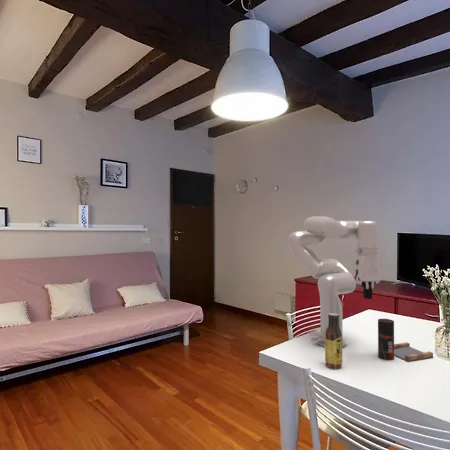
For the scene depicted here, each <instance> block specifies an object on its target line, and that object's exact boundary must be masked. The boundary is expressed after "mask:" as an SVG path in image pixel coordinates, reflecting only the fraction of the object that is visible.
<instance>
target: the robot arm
mask: <svg viewBox="0 0 450 450" xmlns="http://www.w3.org/2000/svg"><path fill="white" fill-rule="evenodd" d="M303 228H304V230H298V231H297V230H296V231H294V232H291V233H290V234H289V235H288V238H287V245H288V249H289V251H290V253H291V254H292V256H293V257H294V258H295V259H296V260H298V261H299V263H301V265H302V266H303V267H304V268H305V269H306V271H307V272H308V273H309V275H310V276H311V277H312V278H314V279H315V280H317V289H318V292H319V294H318V295H319V303H320V305H319V306H320V312H319V313H320V314H319V315H320V317H319V319H320V332H318V334H317V335H314V336H311V337H310V339H311V341H312V342H315V341H316V343H317V344H318V345H319V346H321V347H323V348H325V337H326V336H325V335H326V334H325V332H326V329H327V328H328V326H329V325H328V323H329V318H328V314H329V313H337V314H339V328H340V331H341V333H342V348H345V347H346V346H347V341H346V340H345V339H343V303H342V301H341V299H340V297H339V295H347V294H350V293H353V292H355V290H356V287H357V285H360V287H361V288H362V289H363V290H362V293H363V295H362V296H363V299H367V300H373V289H374V288H375V285H377V284H379V283H380V282H381V280H382V279H383V270H382V269H383V268H382V261H381V258H380V257H381V256H380V255H379V248H378V247H379V243H378V237H379V236H378V223H377V222H376V221H374V220H335V218H334V217H329V216H326V215H325V216H323V215H321V216H318V215H317V216H315V215H314V216H310V217H307V218H306V219H305V220H304V222H303ZM327 238H330V239H336V240H350V239H351V240H356V247H357V249H355V251H354V252H355V254H356V257H355V262H354V271H353V273H354V275H353V274H352V273H351V272H350V271H349V270H348V269H347V268H346V267H345V266H344V265H343V264H342V263H341V262H340V261H339V260H337V259H336V258H322V257H320V256H319V255H317V253H316V252H315V251H314V250H312V249H310V248H315V247H316V248H317V247H319V246H320V245H321V244H322V243H324V241H325V240H326V239H327Z"/></svg>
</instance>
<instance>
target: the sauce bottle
mask: <svg viewBox="0 0 450 450" xmlns="http://www.w3.org/2000/svg"><path fill="white" fill-rule="evenodd" d="M328 318H329V323H328V325H329V326H328V328H327V329H326V332H325V334H326V335H325V336H326V337H325V347H324V359H325V360H324V361H325V366H326V367H327V368H329V369H334V370H337V369H341V368H342V366H343V347H342V333H343V332H342V333H341V331H340V328H339V314H337V313H329V314H328Z"/></svg>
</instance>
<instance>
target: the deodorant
mask: <svg viewBox="0 0 450 450" xmlns="http://www.w3.org/2000/svg"><path fill="white" fill-rule="evenodd" d="M394 344H395V320H393V319H390V318H378V319H377V358H379V359H380V360H384V361H394V359H395V356H394Z"/></svg>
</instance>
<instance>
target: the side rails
mask: <svg viewBox="0 0 450 450" xmlns="http://www.w3.org/2000/svg"><path fill="white" fill-rule="evenodd" d="M405 347H411V344H410V343H409V342H401V343H399V342H398V343H394V349H398V348H405ZM423 352H424V351H423ZM432 356H433V357H434V352H431V351H425V352H424V353H418V354H412V355H406V356H405V360H406V361H405V362H406V363H411V361H412V362H416V360H417V361H422V360H427V359H428V358H426V357H429V359H432V358H431V357H432ZM421 358H422V359H421ZM415 359H416V360H415ZM407 360H408V361H407ZM409 361H410V362H409Z"/></svg>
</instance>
